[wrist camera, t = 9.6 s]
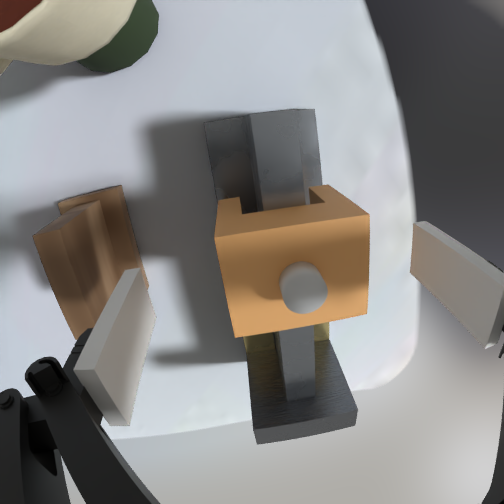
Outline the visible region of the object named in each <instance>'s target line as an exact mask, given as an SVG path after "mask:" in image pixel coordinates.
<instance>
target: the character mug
mask: <svg viewBox="0 0 504 504" xmlns="http://www.w3.org/2000/svg"><path fill="white" fill-rule="evenodd" d="M158 20H159V14H158V12H157V10H156V8H155V6H154V4H153V2H152V0H0V76H1V75H2V74H3V72H4V71H5V70H6V69H7V67H8V66H9V65H10V63H11V62H12V61H13V60H17V61H23V62H29V63H34V64H44V65H53V66H57V65H63V64H66V63H70V62H73V61H77V62H78V63H80V64H81V65H83V66H84V67H86V68H88V69H90V70H91V71H101V72H114V71H117V70H120V69H123V68H126V67H129V66H131V65H132V64H134V63H135V62H136V61H137V60H138V59H140V58H141V57H142V56H143V55H145V54H146V53H147V52H148V50H149V48H150V47H151V45H152V43H153V41H154V39H155V37H156V36H157V34H158Z"/></svg>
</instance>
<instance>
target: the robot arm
mask: <svg viewBox="0 0 504 504" xmlns="http://www.w3.org/2000/svg"><path fill="white" fill-rule="evenodd" d="M410 273H411V274H412V275H413V276H414V277H415V278H416V279H417V280H418V281H419V282H421V283H422V284H423V285H424V286H425V287H426V288H427V289H428V290H429V291H430V292H431V293H432V294H433V295H434V296H435V297H436V298H437V299H438V300H439V301H440V302H441V303H442V304H443V305H444V306H445V307H446V308H447V309H448V310H449V311H450V312H451V313H452V314H453V315H454V316H455V317H456V319H457V320H459V322H460V323H461V324H462V325H463V326H464V327H465V328H466V329H467V330H468V331H469V332H470V333H471V334H472V335H473V337H474V338H475V339H476V340H477V341H478V342H479V343H480V344H481V345H482V346H483V348H484V349H486V348H488V347H491V346H493V345H495V344H497V343H498V340H499V338H500V335H501V332H502V331H503V332H504V272H503V271H502V270H501V269H500V268H497V266H495V265H494V264H493V263H491V262H490V261H487V260H485V259H483V258H482V257H480V256H479V255H477V254H476V253H474V252H473V251H471V250H470V249H468V248H467V247H465V246H464V245H462V244H461V243H460V242H458V241H456V240H455V239H453V238H452V237H450V236H449V235H447V234H446V233H444V232H442V231H441V230H439V229H438V228H436V227H434V226H433V225H431V224H430V223H428V222H426V221H423V222H416V223H413V241H412V255H411V267H410ZM155 321H156V314H155V311H154V309H153V306H152V303H151V300H150V297H149V294H148V291H147V288H146V285H145V281H144V278H143V275H142V272H141V269H140V268H134V269H128V270H125V271H124V273H123V275H122V276H121V278H120V280H119V282H118V283H117V285H116V287H115V289H114V291H113V292H112V294H111V296H110V298H109V300H108V302H107V303H106V305H105V307H104V309H103V311H102V313H101V315H100V317H99V319H98V320H97V322H96V324H95V326H94V328H87V329H86V330H85V331H84V332H83V333H82V334H81V335H80V336H79V338H78V340H77V342H76V343H75V347H73V349H72V351H71V354H70V355H69V357H68V359H67V361H66V363H65V365H64V367H63V368H62V367H61V365H60V363H59V362H58V360H57V359H56V358H54V357H43V358H41V359H38V360H37V361H35V362H34V363H32V364H31V365H30V367H29V368H28V369H27V371H26V373H25V380H26V382H27V383H28V385H29V386H30V387H31V389H32V390H33V392H34V393H35V394H36V395H34V396H30V397H26V398H23V396H22V395H21V394H20V392H19V391H18V390H17V389H13V388H11V389H7V390H5V391H2V392H1V393H0V504H71V503H70V499H69V495H68V490H67V486H66V481H65V476H64V471H63V466H62V460H61V456H62V458H63V461H64V463H65V465H66V466H67V469H68V471H69V473H70V475H71V477H72V479H73V481H74V482H75V484H76V486H77V488H78V490H79V492H80V493H81V495H82V497H83V499H84V501H85V502H86V504H160V503H159V502H158V500H157V499H156V498H155V497H154V496H153V495H152V493H151V492H150V491H149V490H148V489H147V488H146V486H145V485H144V484H143V483H142V481H141V480H140V479H139V478H138V476H137V475H136V474H135V472H134V471H133V470H132V468H131V467H130V466H129V465H128V463H127V462H126V461H125V459H124V458H123V457H122V455H121V454H120V452H119V451H118V449H117V448H116V447H115V445H114V444H113V442H112V441H111V439H110V438H109V436H108V435H107V433H106V432H105V430H104V429H103V428H102V426H101V425H100V424H101V421H102V417H104V418H105V419H106V421H107V422H108V424H109V425H110V426H130V422H131V417H132V412H133V408H134V404H135V399H136V395H137V391H138V386H139V382H140V378H141V374H142V370H143V366H144V362H145V358H146V354H147V351H148V347H149V343H150V339H151V336H152V332H153V328H154V325H155ZM503 353H504V344H503V347H502V349H501V352H500V354H499V358H501V356H502V354H503ZM482 504H504V399H503V413H502V423H501V431H500V439H499V446H498V452H497V458H496V464H495V470H494V474H493V479H492V483H491V487H490V489H489V491H488V493H487V495H486V496H485V498H484V500H483V502H482Z"/></svg>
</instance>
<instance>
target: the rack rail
mask: <svg viewBox="0 0 504 504" xmlns="http://www.w3.org/2000/svg"><path fill="white" fill-rule="evenodd" d="M204 127H205V133H206V139H207V145H208V151H209V157H210V163H211V168H212V174H213V180H214V186H215V191H216V197H217V203H218V201H219V200H223V199H229V198H235V197H240V203H241V209H242V214H248V213H255V212H261V211H268V210H275V209H281V208H288V207H295V206H302V205H310V199H309V188H308V187H313V186H321V185H322V174H321V163H320V153H319V143H318V134H317V125H316V117H315V109H306V110H295V109H291V110H281V111H271V112H263V113H255V114H249V115H246V116H243V117H236V118H230V119H223V120H217V121H211V122H206V123H204ZM243 339H244V344H245V349H246V354H247V366H248V377H249V389H250V400H251V411H252V421H253V431H254V434H255V438H256V442H257V444H265V443H271V442H278V441H285V440H290V439H296V438H301V437H307V436H312V435H317V434H321V433H326V432H330V431H335V430H339V429H343V428H347V427H351V426H354V425H355V424H356V418H357V411H358V409H357V406H356V404H355V401H354V399H353V396H352V394H351V391H350V389H349V386H348V384H347V381H346V379H345V376H344V374H343V371H342V369H341V366H340V364H339V362H338V359H337V357H336V354H335V352H334V350H333V347H332V345H331V342H330V340H329V322H325V323H320V324H315V325H310V326H304V327H299V328H293V329H287V330H282V331H276V332H270V333H263V334H257V335H250V336H243Z"/></svg>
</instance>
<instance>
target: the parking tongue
mask: <svg viewBox="0 0 504 504" xmlns="http://www.w3.org/2000/svg"><path fill="white" fill-rule="evenodd" d="M58 206H59V210H60V213H61V216H60V217H58V218H57V219H55V220H54V221H53V222H51V223H50V224H48V225H47V226H46V227H44V228H43V229H41V230H40V231H39V232H37V233H36V234H34V235H33V239H34V242H35V245H36V248H37V251H38V253H39V256H40V259H41V262H42V264H43V267H44V270H45V272H46V275H47V277H48V280H49V282H50V285H51V287H52V290H53V292H54V294H55V297H56V299H57V301H58V304H59V306H60V308H61V310H62V313H63V315H64V317H65V319H66V321H67V323H68V325H69V327H70V330H71V332H72V334H73V336H74V338H75V340H78V338H79V336H80V335H81V334H82V333H83V332H84V331H85V330H86V329H87V328H94V326H95V324H96V322H97V320H98V319H99V317H100V315H101V313H102V311H103V309H104V307H105V305H106V303H107V302H108V300H109V298H110V296H111V294H112V292H113V291H114V289H115V287H116V285H117V283H118V282H119V280H120V278H121V276H122V275H123V273H124V271H125V270H128V269H134V268H140V269H141V272H142V275H143V278H144V281H145V285H146V288H147V290H148V287H149V284H148V281H147V278H146V274H145V271H144V268H143V264H142V261H141V258H140V254H139V251H138V247H137V244H136V240H135V237H134V233H133V229H132V225H131V222H130V218H129V214H128V210H127V206H126V202H125V198H124V194H123V189H122V185H120V186H115V187H111V188H107V189H103V190H99V191H95V192H91V193H88V194H84V195H80V196H76V197H73V198H69V199H66V200H63V201H61V202H60V203H58Z"/></svg>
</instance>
